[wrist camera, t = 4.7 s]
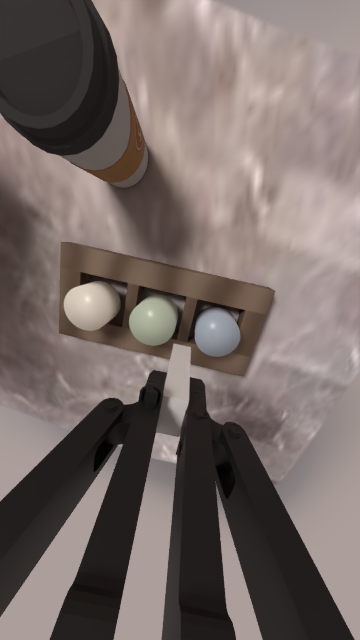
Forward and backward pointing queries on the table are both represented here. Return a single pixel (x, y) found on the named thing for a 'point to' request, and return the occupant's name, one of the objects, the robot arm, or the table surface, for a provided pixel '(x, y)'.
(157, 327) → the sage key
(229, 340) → the pale blue rounded knob
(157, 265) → the wooden tray
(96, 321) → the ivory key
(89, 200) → the table surface
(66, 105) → the coffee cup
